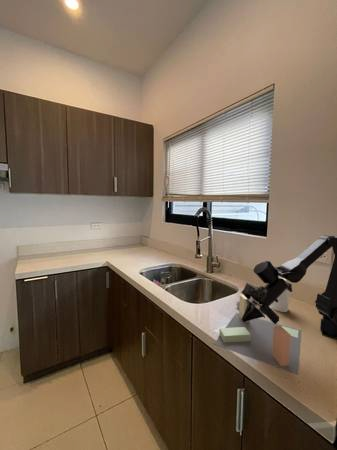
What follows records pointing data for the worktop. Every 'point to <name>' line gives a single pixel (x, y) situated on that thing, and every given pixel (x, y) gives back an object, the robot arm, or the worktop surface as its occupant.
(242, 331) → the sage tile
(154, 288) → the worktop surface
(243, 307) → the sand tile
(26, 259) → the worktop surface
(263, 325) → the mat
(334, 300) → the robot arm
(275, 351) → the terracotta tile
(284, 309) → the pill bottle
